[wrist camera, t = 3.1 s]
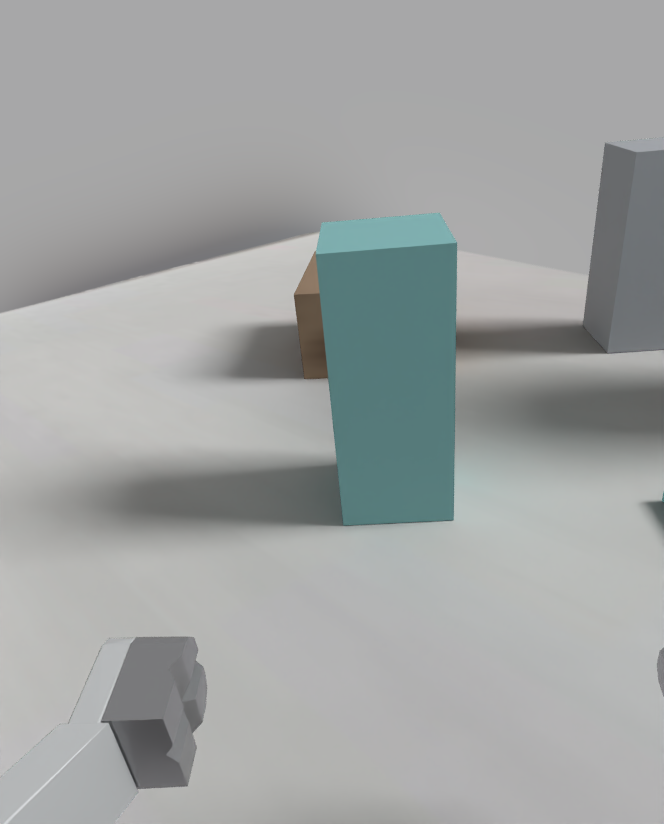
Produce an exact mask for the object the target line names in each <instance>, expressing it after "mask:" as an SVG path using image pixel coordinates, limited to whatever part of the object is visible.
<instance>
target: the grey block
mask: <svg viewBox="0 0 664 824" xmlns="http://www.w3.org/2000/svg"><path fill="white" fill-rule="evenodd" d="M583 326H584V327H585V328H586V330H587V331H588V332H589V333H590V334H591V335H592V336H593V338H594V339H595V340H596V341H597V342H598V343H599V344H600V345H601V347H602V348H603V349H604V350H605V351H606V352H607V353H618V352H633V351H648V350H663V349H664V137H662V138H650V139H639V140H628V141H617V142H607V143H605V147H604V156H603V164H602V173H601V181H600V189H599V197H598V205H597V213H596V222H595V230H594V239H593V246H592V255H591V263H590V271H589V279H588V288H587V296H586V304H585V312H584V320H583Z"/></svg>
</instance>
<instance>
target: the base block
mask: <svg viewBox="0 0 664 824" xmlns="http://www.w3.org/2000/svg"><path fill="white" fill-rule="evenodd" d="M294 299H295V307H296V315H297V323H298V331H299V340H300V348H301V356H302V364H303V372H304V379H320V378H328V370H327V360H326V351H325V341H324V331H323V321H322V311H321V302H320V292H319V282H318V272H317V263H316V251H315V252H314V254H313V256H312V259H311V261H310V263H309V265H308V267H307V269H306V271H305V273H304V275H303V277H302V279H301V281H300V283H299V285H298V287H297V289H296V291H295V293H294Z"/></svg>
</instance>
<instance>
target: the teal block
mask: <svg viewBox="0 0 664 824" xmlns="http://www.w3.org/2000/svg"><path fill="white" fill-rule="evenodd" d="M316 263H317V272H318V282H319V292H320V302H321V311H322V321H323V331H324V341H325V351H326V360H327V370H328V380H329V390H330V400H331V409H332V419H333V429H334V439H335V449H336V458H337V468H338V478H339V488H340V498H341V507H342V517H343V526H344V525H365V524H385V523H406V522H426V521H446V520H454V449H455V369H456V289H457V242H456V240H455V238H454V237H453V235H452V234H451V232H450V230H449V228H448V227H447V225H446V223H445V221H444V220H443V218H442V216H441V214H440V213H431V214H419V215H408V216H395V217H383V218H372V219H360V220H348V221H336V222H324V223H322V225H321V230H320V235H319V240H318V245H317V250H316Z"/></svg>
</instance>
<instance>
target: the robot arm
mask: <svg viewBox="0 0 664 824" xmlns="http://www.w3.org/2000/svg"><path fill="white" fill-rule="evenodd" d="M197 653H198V647H197V644H196V641H195V639H194V637H132V638H109V639H108V640H107V641H106V642H105V643H104V644H103V645H102V647H101V649H100V651H99V653H98V656H97V658H96V660H95V663H94V665H93V667H92V669H91V672H90V674H89V676H88V679H87V681H86V683H85V686H84V688H83V690H82V692H81V695H80V697H79V699H78V702H77V704H76V706H75V709H74V711H73V713H72V715H71V718H70V720H69V722H68V724H59V725H58V726H57V727H56V728H55V729H53V730H52V731H51V732H50V733H49V734H48V735H47V736H46V737H45V738H43V739H42V740H41V741H40V742H39V743H38V744H37V745H36V746H35V747H33V748H32V749H31V750H30V751H29V752H28V753H27V754H26V755H25V756H23V757H22V758H21V759H20V760H19V761H18V762H17V763H16V764H15V765H13V766H12V767H11V768H10V769H9V770H8V771H7V772H6V773H5V774H3V775H2V776H1V777H0V824H114V823H115V822H116V821H117V819H118V818H119V817H120V815H121V814H122V813H123V812H124V810H125V809H126V808H127V806H128V805H129V804H130V803H131V801H132V800H133V799H134V797H135V796H136V795H137V793H138V789H146V788H166V787H185V786H188V783H189V779H190V774H191V770H192V766H193V761H194V757H195V753H196V749H197V746H196V743H195V740H194V737H193V734H192V733H193V732H194V731H195V730H196V729H197V728H198V727H199V726H200V724H201V723H202V722H203V718H204V713H205V708H206V697H207V683H206V675H205V671H204V668H203V666H202V665H200V664H199V663H198V662H196V657H197ZM657 671H658V680H659V684H660V687H661V690H662V693H663V696H664V648H663V649H662V650H660V652H659V657H658V662H657Z"/></svg>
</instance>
